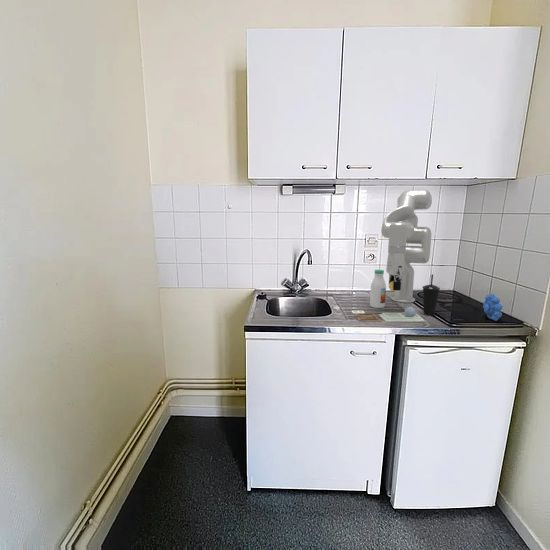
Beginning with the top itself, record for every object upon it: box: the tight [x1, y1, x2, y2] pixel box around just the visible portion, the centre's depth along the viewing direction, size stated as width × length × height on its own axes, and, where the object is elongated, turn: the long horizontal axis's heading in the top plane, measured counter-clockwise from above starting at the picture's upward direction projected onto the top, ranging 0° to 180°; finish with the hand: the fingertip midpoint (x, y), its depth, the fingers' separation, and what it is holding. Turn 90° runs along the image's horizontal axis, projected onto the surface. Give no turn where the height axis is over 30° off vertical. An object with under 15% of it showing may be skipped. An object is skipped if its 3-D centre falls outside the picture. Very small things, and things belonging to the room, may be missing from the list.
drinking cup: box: [422, 273, 441, 317], centre depth 149 cm, size 8×8×20 cm
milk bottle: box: [369, 269, 387, 309], centre depth 163 cm, size 8×8×20 cm
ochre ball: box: [388, 281, 398, 292], centre depth 142 cm, size 5×5×5 cm
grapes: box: [482, 293, 503, 322], centre depth 141 cm, size 12×7×12 cm, turn 177°
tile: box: [351, 310, 366, 315], centre depth 154 cm, size 4×6×1 cm, turn 89°
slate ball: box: [403, 306, 417, 317], centre depth 144 cm, size 5×5×5 cm
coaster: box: [353, 313, 382, 323], centre depth 145 cm, size 10×10×1 cm
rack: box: [378, 312, 426, 323], centre depth 145 cm, size 10×18×2 cm, turn 89°
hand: (394, 288), depth 142 cm, fingers closed on ochre ball, 4 cm apart
